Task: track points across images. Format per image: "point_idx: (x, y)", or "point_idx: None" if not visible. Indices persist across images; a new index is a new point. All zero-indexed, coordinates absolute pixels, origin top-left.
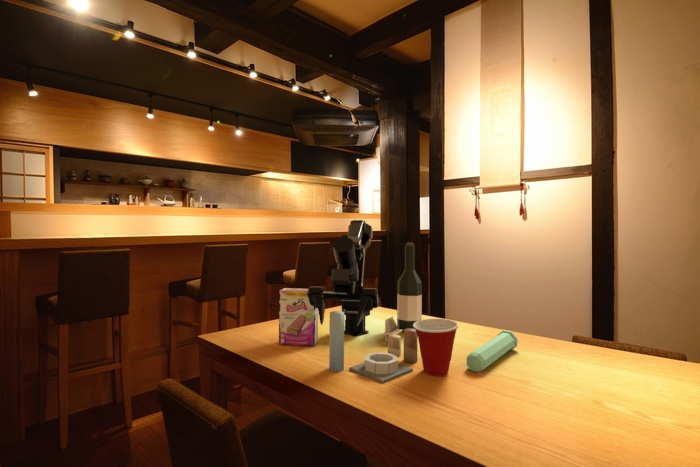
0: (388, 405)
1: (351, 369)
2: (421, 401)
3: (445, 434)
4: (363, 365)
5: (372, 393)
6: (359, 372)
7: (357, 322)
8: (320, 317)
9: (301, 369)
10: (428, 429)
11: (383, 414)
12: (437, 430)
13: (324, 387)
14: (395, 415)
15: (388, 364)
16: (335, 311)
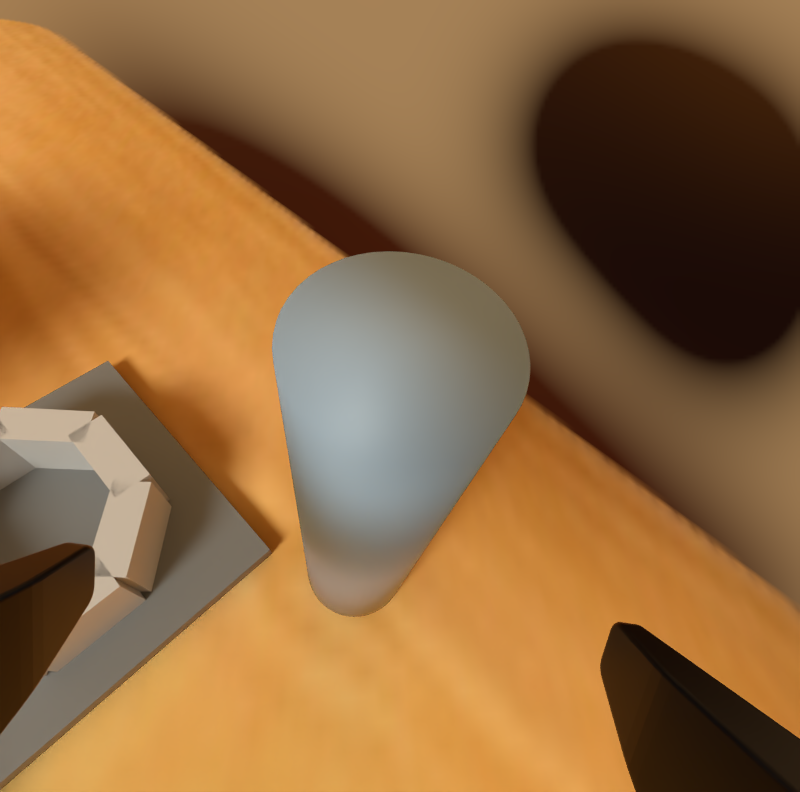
0: (161, 206)
1: (258, 537)
2: (14, 219)
3: (55, 85)
4: (161, 591)
5: (197, 282)
6: (213, 486)
7: (58, 546)
8: (690, 670)
9: (569, 556)
10: (90, 103)
11: (197, 166)
12: (66, 98)
13: None
14: (160, 159)
15: (6, 408)
16: (439, 426)
